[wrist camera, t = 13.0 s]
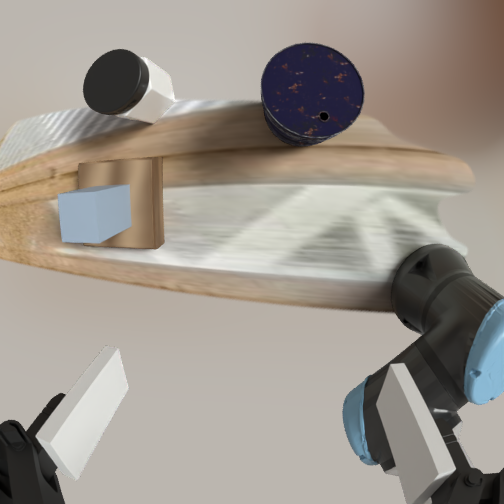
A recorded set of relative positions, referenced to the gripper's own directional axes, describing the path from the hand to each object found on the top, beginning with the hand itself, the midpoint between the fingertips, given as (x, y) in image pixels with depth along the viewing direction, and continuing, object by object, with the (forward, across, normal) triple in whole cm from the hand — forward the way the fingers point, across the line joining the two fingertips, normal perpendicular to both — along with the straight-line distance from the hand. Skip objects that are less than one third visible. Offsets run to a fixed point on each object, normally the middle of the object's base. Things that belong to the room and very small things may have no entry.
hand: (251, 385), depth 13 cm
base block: (+32, +22, -4) cm, 39 cm away
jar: (+32, +18, -20) cm, 42 cm away
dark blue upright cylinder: (+32, -4, -17) cm, 36 cm away
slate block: (+28, +22, -4) cm, 36 cm away
